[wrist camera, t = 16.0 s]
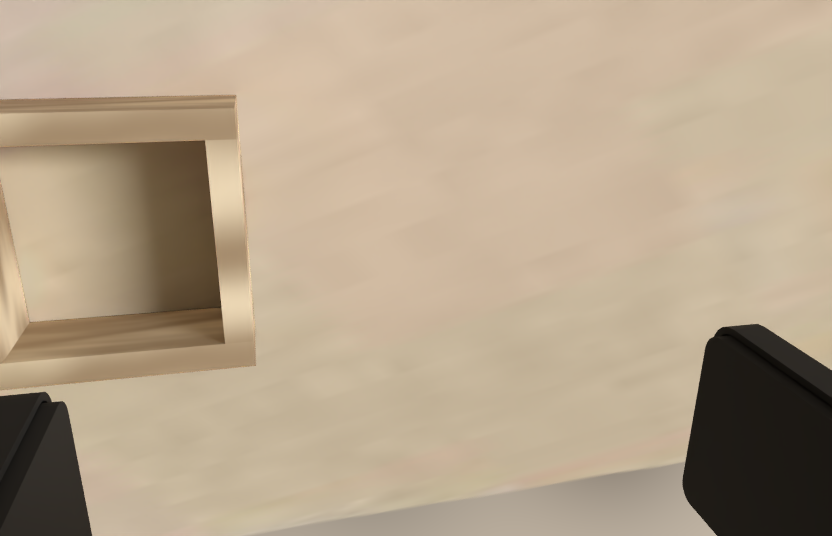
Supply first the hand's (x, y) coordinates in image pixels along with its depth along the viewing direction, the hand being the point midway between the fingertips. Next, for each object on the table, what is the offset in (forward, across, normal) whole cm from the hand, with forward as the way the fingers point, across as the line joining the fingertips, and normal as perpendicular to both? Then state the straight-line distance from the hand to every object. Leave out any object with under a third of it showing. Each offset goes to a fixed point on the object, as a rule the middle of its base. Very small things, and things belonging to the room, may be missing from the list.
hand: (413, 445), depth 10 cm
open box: (+32, +10, +6) cm, 34 cm away
